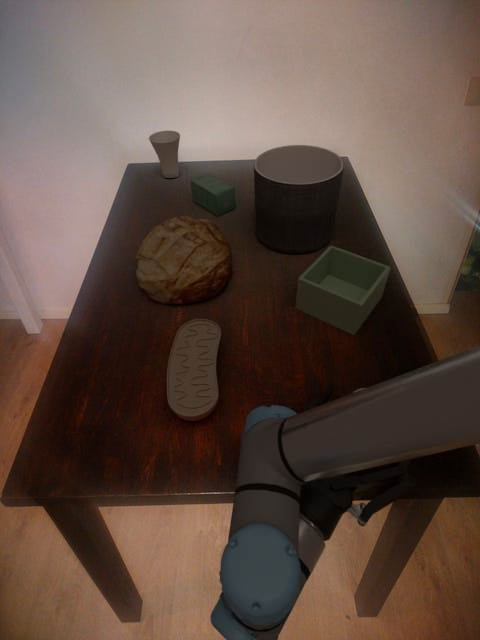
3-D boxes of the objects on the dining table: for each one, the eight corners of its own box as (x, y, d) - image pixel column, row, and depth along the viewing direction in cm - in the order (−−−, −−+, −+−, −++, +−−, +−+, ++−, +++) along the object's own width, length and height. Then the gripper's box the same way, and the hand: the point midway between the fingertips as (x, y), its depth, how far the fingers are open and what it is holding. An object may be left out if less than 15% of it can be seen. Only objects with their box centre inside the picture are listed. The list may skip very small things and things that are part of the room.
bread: (217, 239, 111) (210, 189, 101) (251, 291, 92) (246, 236, 82) (133, 260, 106) (117, 210, 96) (149, 321, 87) (131, 266, 77)
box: (218, 217, 117) (216, 194, 111) (192, 201, 124) (189, 179, 119) (236, 208, 120) (235, 186, 114) (210, 194, 127) (208, 172, 122)
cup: (186, 180, 135) (180, 140, 125) (156, 183, 134) (148, 144, 124) (185, 167, 142) (179, 129, 132) (157, 170, 141) (149, 132, 131)
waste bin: (381, 297, 89) (391, 267, 83) (353, 335, 82) (361, 305, 75) (326, 274, 96) (330, 245, 89) (295, 308, 88) (297, 278, 82)
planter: (246, 219, 115) (243, 152, 101) (314, 206, 119) (321, 139, 104) (269, 262, 100) (270, 191, 86) (346, 246, 104) (360, 175, 89)
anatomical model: (220, 429, 68) (217, 415, 64) (164, 431, 68) (159, 416, 65) (223, 333, 84) (221, 317, 80) (178, 335, 84) (174, 319, 80)
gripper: (230, 479, 59) (301, 385, 70) (386, 597, 48) (440, 463, 59) (227, 458, 54) (304, 360, 65) (401, 586, 43) (458, 441, 54)
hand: (369, 409), depth 62 cm, fingers open, 13 cm apart
